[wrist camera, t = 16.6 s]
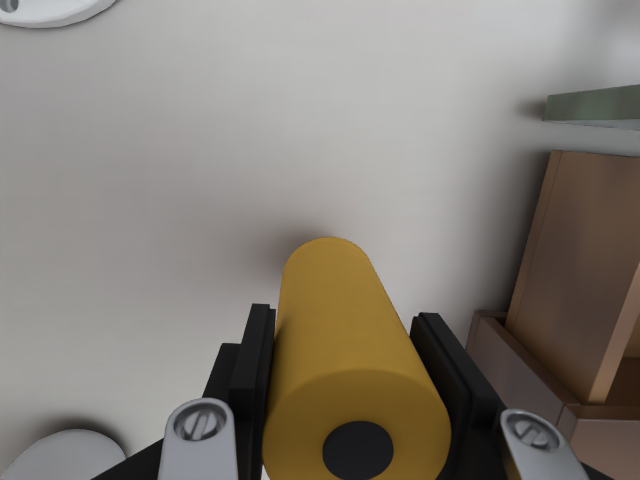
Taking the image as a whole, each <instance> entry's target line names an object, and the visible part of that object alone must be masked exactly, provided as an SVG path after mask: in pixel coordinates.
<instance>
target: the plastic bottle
mask: <svg viewBox="0 0 640 480" xmlns="http://www.w3.org/2000/svg"><path fill="white" fill-rule="evenodd" d="M124 460H126V457H125V455H124V453H123V451H122V449H121V448H120V447H119V446H118V444H116V443H115V442H114V441H113V440H112V439H110V438H108V437H107V436H105V435H103V434H100V433H98V432H95V431H90V430H85V429H68V430H63V431H60V432H57V433H54V434H52V435H49V436H47V437H44V438H41V439H40V440H38V441H36V442H35V443H33V444H32V445H31V446H30V447H29V448H28V449H27V450H26V451H25V452H23V453H22V454H21V455H20V456H19V457H18V458H17V459H16V460H15V461H13V462H12V463H11V464H10V465H9V466H8V468H7V469H6V471H5V472H4V474H3V475H2V477H1V478H0V480H90V479H92V478H94V477H96V476H97V475H99V474H101V473H103V472H104V471H106V470H108V469H110V468H111V467H113V466H115V465H117V464H118V463H120V462H122V461H124Z"/></svg>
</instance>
